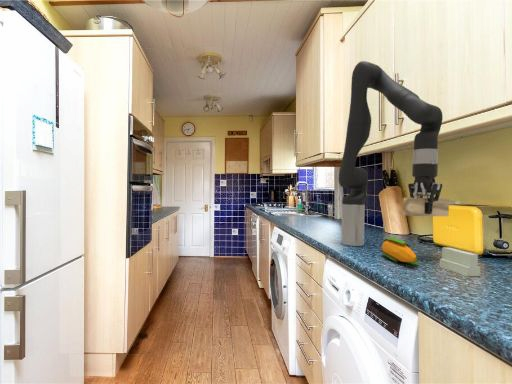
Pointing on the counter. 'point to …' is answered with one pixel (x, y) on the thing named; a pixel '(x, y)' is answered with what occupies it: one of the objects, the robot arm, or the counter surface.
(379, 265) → the counter surface
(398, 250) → the corn
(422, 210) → the oak bar
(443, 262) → the grey rectangular block
